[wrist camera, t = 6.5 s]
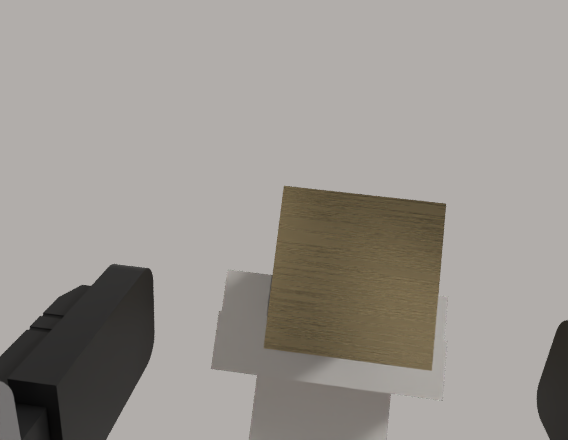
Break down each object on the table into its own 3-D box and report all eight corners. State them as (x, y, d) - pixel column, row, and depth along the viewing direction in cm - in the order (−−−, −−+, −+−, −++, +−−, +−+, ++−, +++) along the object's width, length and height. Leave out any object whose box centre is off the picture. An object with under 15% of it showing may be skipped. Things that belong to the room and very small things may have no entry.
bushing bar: (348, 314, 32) (353, 265, 32) (431, 370, 9) (445, 203, 10) (300, 307, 32) (305, 259, 32) (263, 348, 9) (284, 185, 10)
